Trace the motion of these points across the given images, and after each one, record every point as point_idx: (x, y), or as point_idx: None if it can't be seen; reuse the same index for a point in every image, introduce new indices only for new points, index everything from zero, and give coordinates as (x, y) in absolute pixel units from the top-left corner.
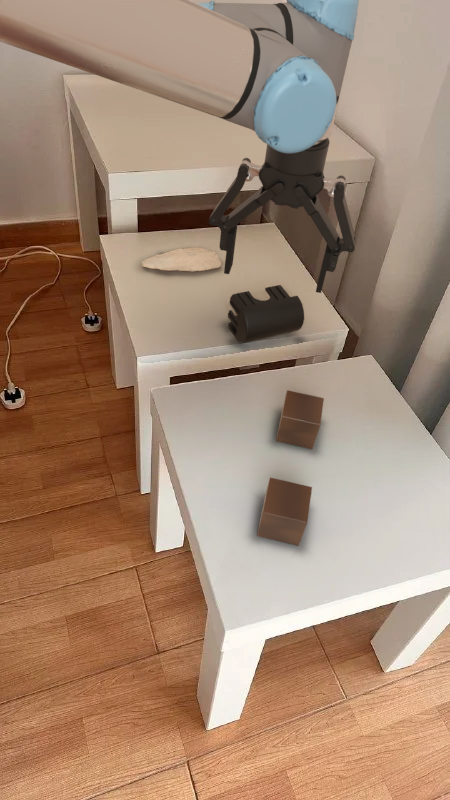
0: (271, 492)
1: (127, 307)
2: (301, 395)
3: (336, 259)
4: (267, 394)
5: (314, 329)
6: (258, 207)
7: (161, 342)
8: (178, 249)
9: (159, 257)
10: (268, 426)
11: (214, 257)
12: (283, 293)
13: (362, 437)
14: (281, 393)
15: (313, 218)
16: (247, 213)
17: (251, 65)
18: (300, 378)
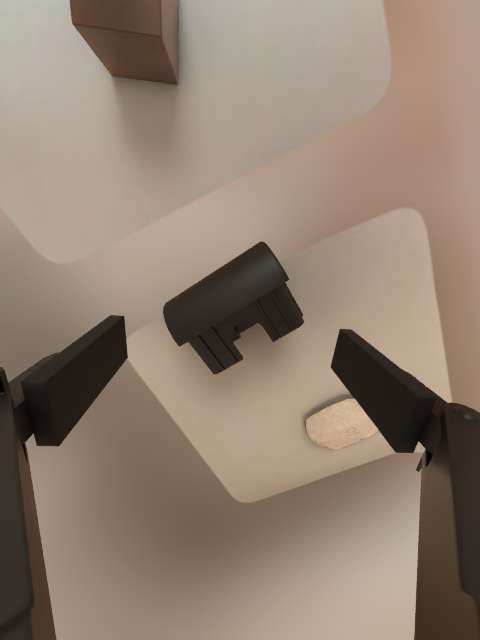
0: None
1: (436, 305)
2: (125, 19)
3: (18, 379)
4: (208, 141)
5: (153, 327)
6: (461, 568)
7: (388, 236)
8: (368, 436)
9: None
10: (196, 42)
11: (316, 433)
12: (207, 349)
13: (17, 50)
14: (185, 150)
15: (14, 573)
16: (471, 500)
17: None
18: (158, 200)
